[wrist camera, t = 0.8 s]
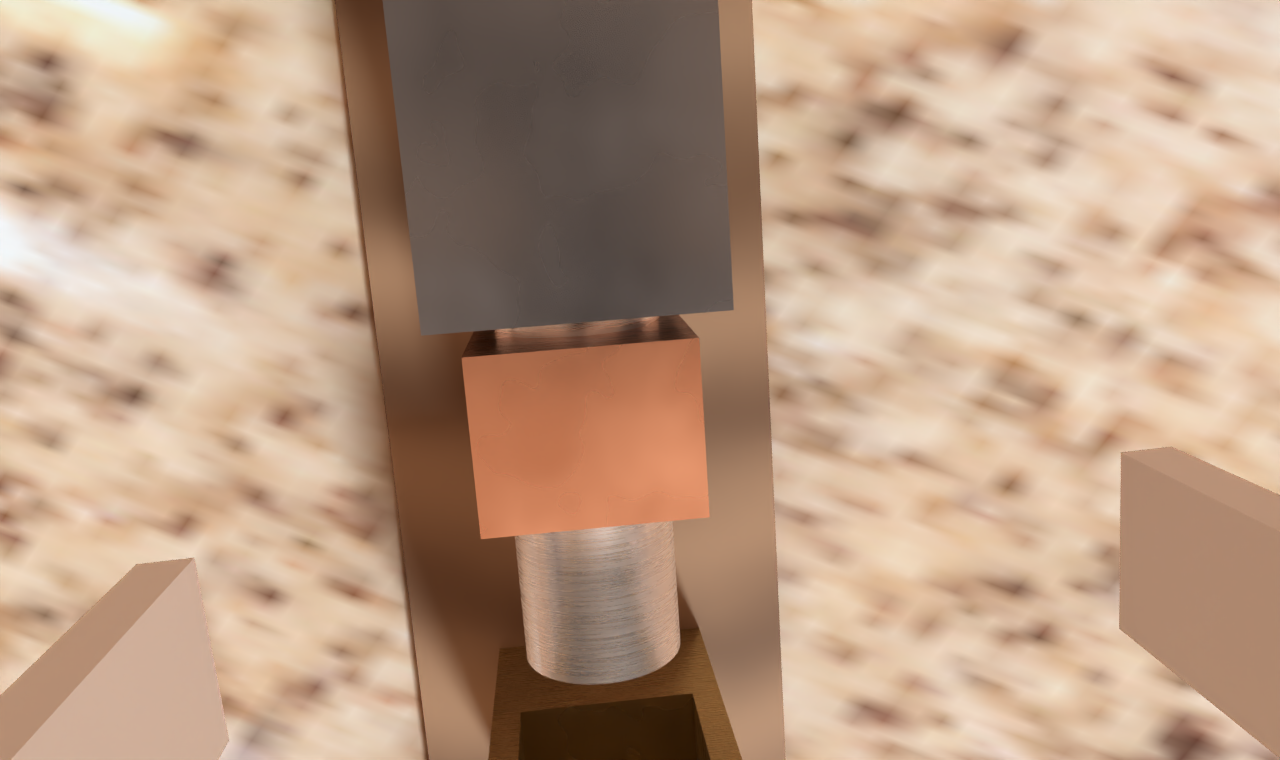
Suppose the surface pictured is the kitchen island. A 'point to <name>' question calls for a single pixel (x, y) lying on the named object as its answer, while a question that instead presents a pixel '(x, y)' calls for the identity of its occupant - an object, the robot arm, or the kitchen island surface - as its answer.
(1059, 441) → the kitchen island surface
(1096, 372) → the kitchen island surface
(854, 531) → the kitchen island surface
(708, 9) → the sleeve
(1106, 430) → the kitchen island surface
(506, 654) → the socket
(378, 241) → the board
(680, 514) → the rod
